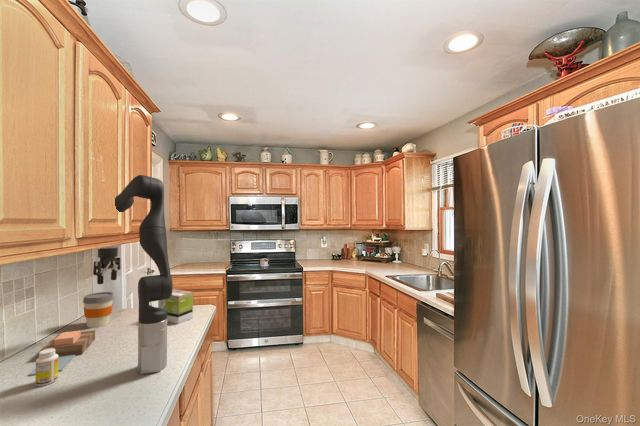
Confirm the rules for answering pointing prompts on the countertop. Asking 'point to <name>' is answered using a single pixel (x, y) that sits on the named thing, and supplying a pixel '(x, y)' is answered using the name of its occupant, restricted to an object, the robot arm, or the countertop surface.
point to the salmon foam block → (67, 338)
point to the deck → (73, 345)
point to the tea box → (178, 306)
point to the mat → (59, 363)
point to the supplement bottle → (46, 367)
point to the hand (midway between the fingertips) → (107, 281)
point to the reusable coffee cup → (98, 308)
